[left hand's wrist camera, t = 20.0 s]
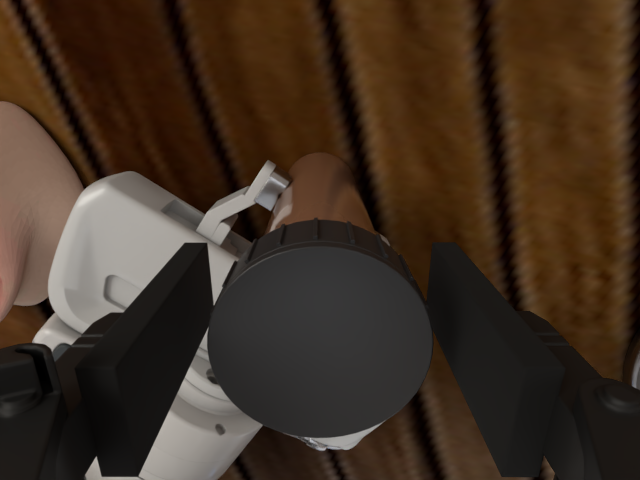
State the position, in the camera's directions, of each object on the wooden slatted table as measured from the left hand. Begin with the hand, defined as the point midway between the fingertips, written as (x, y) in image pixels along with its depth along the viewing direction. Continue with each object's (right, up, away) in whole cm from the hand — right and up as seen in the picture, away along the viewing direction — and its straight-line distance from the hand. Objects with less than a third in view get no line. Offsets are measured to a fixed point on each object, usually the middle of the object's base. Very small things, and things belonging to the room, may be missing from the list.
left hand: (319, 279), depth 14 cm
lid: (0, -1, -4) cm, 4 cm away
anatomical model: (-21, +4, +13) cm, 25 cm away
